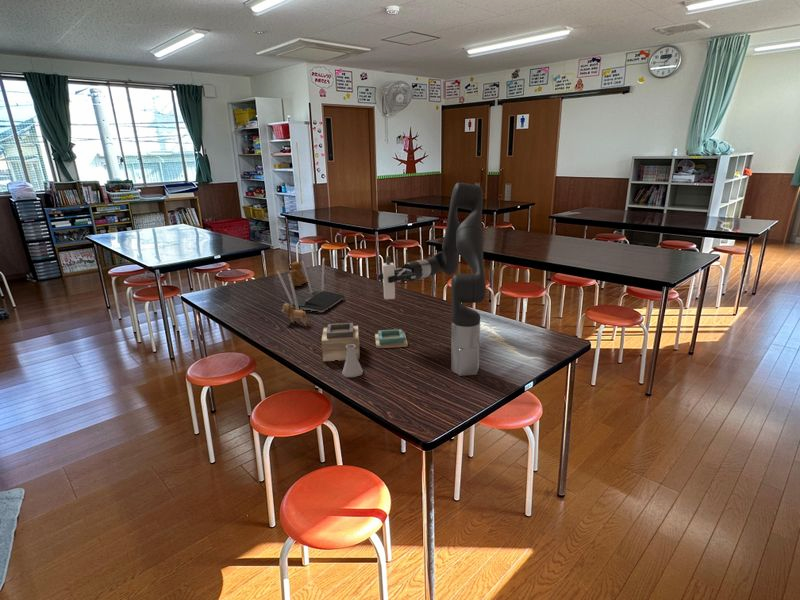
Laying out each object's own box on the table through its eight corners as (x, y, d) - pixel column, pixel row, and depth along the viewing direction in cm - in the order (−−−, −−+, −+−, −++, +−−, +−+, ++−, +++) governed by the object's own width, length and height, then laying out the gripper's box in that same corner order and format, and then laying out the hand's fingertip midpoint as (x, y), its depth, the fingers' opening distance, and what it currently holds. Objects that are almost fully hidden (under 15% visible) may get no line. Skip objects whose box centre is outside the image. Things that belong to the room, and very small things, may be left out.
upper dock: (359, 359, 162) (358, 333, 159) (323, 361, 161) (320, 335, 157) (359, 344, 174) (357, 320, 171) (325, 346, 173) (323, 322, 170)
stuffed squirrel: (308, 281, 265) (306, 259, 261) (304, 288, 251) (302, 265, 247) (291, 282, 264) (289, 260, 260) (287, 288, 251) (284, 266, 247)
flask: (343, 379, 147) (341, 351, 144) (339, 370, 154) (338, 343, 151) (365, 376, 149) (363, 348, 146) (360, 366, 156) (359, 340, 153)
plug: (395, 298, 169) (393, 257, 164) (384, 299, 169) (382, 257, 164) (394, 295, 173) (392, 254, 168) (383, 296, 173) (382, 255, 168)
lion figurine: (281, 324, 198) (278, 304, 195) (288, 320, 202) (286, 301, 200) (309, 328, 192) (307, 308, 189) (316, 323, 197) (314, 304, 194)
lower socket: (407, 346, 171) (407, 339, 170) (376, 348, 170) (376, 341, 169) (404, 334, 183) (404, 327, 182) (375, 336, 182) (374, 329, 181)
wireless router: (317, 318, 204) (314, 275, 198) (274, 313, 212) (269, 272, 205) (349, 296, 234) (346, 258, 228) (310, 293, 242) (307, 256, 236)
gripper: (404, 258, 181) (371, 265, 171) (429, 263, 171) (395, 272, 160) (405, 276, 184) (372, 284, 173) (429, 282, 173) (396, 292, 163)
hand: (383, 278), depth 167 cm, fingers closed on plug, 5 cm apart
